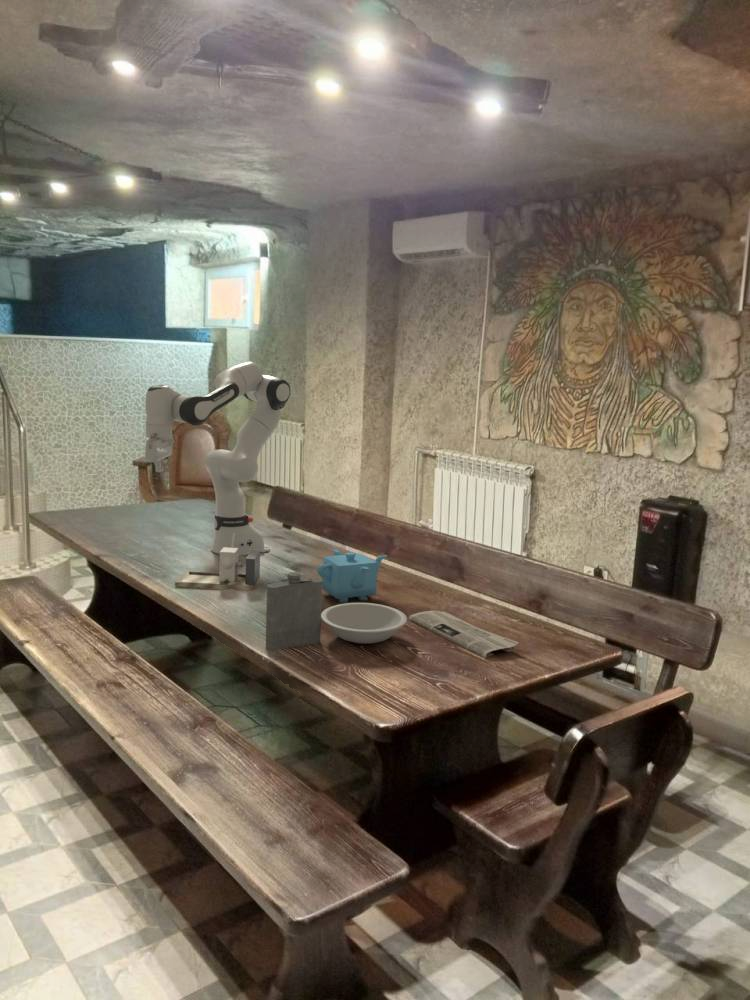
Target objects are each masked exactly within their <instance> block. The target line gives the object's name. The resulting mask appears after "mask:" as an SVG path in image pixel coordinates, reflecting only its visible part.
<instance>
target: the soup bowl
mask: <svg viewBox="0 0 750 1000" xmlns="http://www.w3.org/2000/svg"><path fill="white" fill-rule="evenodd" d="M321 621H322V622H323V623H324V624H326V625H327V626H328V627H329V629H330V631H331V632H333V634H335V635H336V636H337V637H339V638H340V639H343V640H344V641H347V642H351V643H354V644H365V645H366V644H375V643H381V642H383V641H386V640H388V639H390V638H391V637H393V636H394V635H395V634H396V633H397V632H398V631H399V629H400V628H403V627H404V626H406V624H407V623H408V618H407V615H406V613H404V612H402V611H401V610H399V609H397V608H394V607H392V606H387V605H384V604H380V603H379V604H378V603H373V602H372V603H371V602H346V603H338V604H336V605H332V606H329V607H327V608H325V609H324V610H323V611H321Z"/></svg>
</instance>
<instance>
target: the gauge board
mask: <svg viewBox="0 0 750 1000" xmlns="http://www.w3.org/2000/svg"><path fill="white" fill-rule="evenodd" d="M219 573H220V572H203V571H185V572H184V573H182V574H181V576H180V577H178V578H177V579H176V580H175V581H174V587H175V586H183V587H182V588H192V587H201V588H200V589H210V588H221V589H220V590H229V589H234V590H233V591H248V590H249V591H250V592H252V591H253V592H254V591H255V590H256V588H257V586H258V585H259V583H260V582H261V576H260V577H259V579H258V580H257V582H256V584H255V585H246V584H245V574H246V573H245V574H242V573H240V574H239V573H238V577H237V579H236V580H235V582H229V581H227V583H224V581H219ZM257 584H258V585H257Z"/></svg>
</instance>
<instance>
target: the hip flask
mask: <svg viewBox="0 0 750 1000" xmlns="http://www.w3.org/2000/svg"><path fill="white" fill-rule="evenodd" d="M286 577H287V578H288V580H287V581H281V582H276V583H270V584H267V585H266V614H265V615H266V617H265V618H266V620H265V650H266V651H268V652H275V651H279V650H283V649H286V648H292V647H299V646H306V645H315V644H320V643H321V631H322V628H321V627H322V626H321V625H322V619H321V614H322V601H323V600H322V599H323V589H322V578H302V574H301V572H298V571H290V572H287V576H286Z"/></svg>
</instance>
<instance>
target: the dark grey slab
mask: <svg viewBox="0 0 750 1000" xmlns="http://www.w3.org/2000/svg"><path fill="white" fill-rule="evenodd" d="M260 569H261V553H260V551H251V552H250V553H249V554H248V555H246V558H245V584H246V585H255V584H256V582H257V580H258V579H259V577H260V578H261V574H260V573H261V572H260V571H261V570H260Z"/></svg>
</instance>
